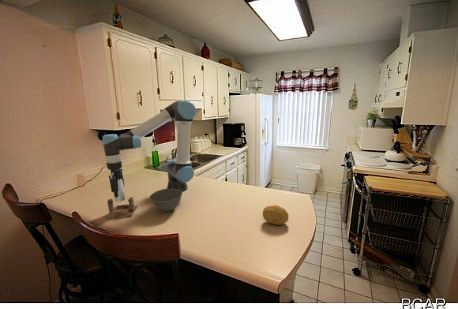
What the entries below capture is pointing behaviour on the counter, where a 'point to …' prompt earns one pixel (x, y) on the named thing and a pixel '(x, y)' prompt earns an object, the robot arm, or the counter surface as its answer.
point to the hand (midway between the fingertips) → (120, 199)
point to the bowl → (166, 198)
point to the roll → (121, 189)
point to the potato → (275, 215)
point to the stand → (121, 209)
